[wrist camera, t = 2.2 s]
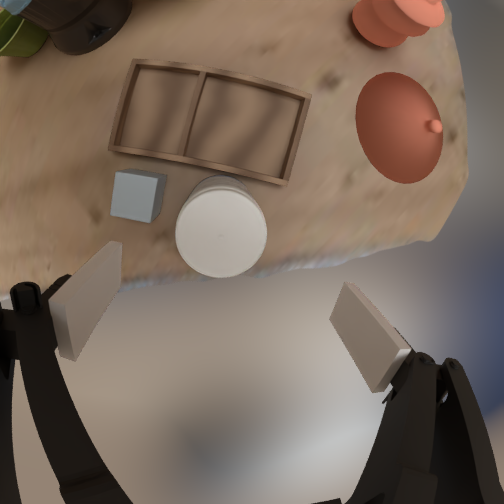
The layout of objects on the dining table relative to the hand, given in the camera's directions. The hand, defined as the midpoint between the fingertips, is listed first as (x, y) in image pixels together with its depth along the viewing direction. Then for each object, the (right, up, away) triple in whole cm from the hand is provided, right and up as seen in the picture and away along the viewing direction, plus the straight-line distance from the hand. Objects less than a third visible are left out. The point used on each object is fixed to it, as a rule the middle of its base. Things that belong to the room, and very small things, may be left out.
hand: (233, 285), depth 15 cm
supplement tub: (-4, +9, +25) cm, 27 cm away
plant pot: (-39, +41, +9) cm, 58 cm away
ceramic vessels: (+26, +30, +21) cm, 45 cm away
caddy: (-5, +21, +20) cm, 30 cm away
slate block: (-15, +11, +23) cm, 30 cm away
